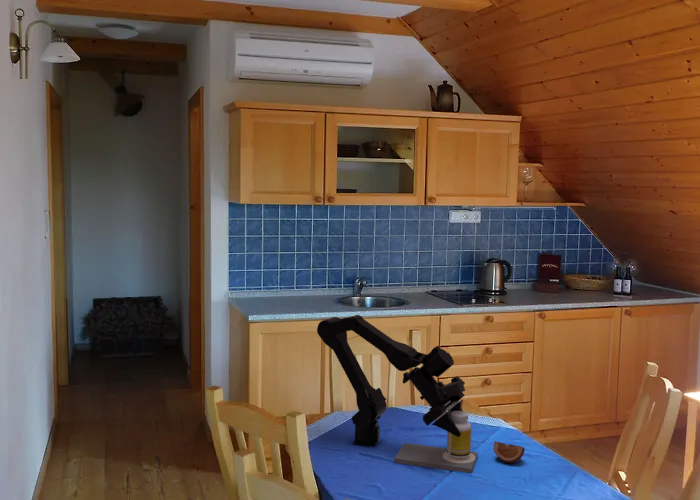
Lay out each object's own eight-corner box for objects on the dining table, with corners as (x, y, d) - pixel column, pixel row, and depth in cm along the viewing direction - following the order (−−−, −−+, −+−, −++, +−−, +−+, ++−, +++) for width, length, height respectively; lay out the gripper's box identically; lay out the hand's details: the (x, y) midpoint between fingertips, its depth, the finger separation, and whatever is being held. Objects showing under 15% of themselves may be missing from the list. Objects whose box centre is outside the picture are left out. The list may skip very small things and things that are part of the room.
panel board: (394, 462, 197) (394, 457, 197) (404, 446, 208) (404, 442, 208) (471, 473, 190) (471, 468, 190) (477, 456, 202) (477, 452, 202)
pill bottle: (473, 458, 196) (475, 417, 194) (450, 459, 195) (452, 418, 193) (465, 449, 202) (467, 409, 201) (443, 450, 201) (444, 410, 200)
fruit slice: (489, 461, 199) (490, 443, 198) (498, 453, 204) (499, 436, 204) (518, 468, 194) (519, 450, 194) (527, 460, 200) (528, 442, 199)
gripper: (435, 377, 189) (474, 426, 186) (459, 361, 206) (495, 406, 202) (406, 401, 194) (444, 449, 190) (432, 384, 210) (466, 427, 206)
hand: (463, 432), depth 197 cm, fingers closed on pill bottle, 6 cm apart
